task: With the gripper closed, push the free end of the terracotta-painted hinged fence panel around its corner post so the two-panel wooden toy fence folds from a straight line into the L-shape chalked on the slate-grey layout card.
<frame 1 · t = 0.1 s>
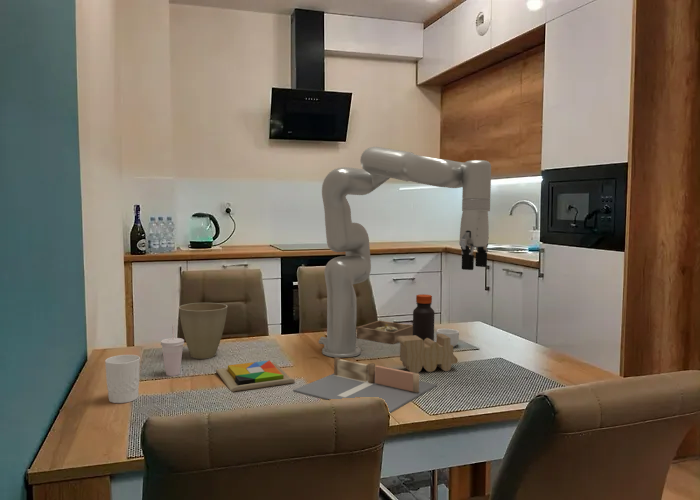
hand: (474, 268, 153), 31 cm above the table, tool pointing down, fingers open, 9 cm apart
smoothie: (172, 374, 157), on the table
teacup: (445, 346, 193), on the table
wooden puzzle: (254, 380, 154), on the table
bottle: (422, 358, 177), on the table
toy train: (426, 370, 164), on the table
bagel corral: (385, 337, 204), on the table
fixed fence panel: (354, 369, 153), on the layout card
layout card: (366, 388, 146), on the table
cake: (386, 338, 204), on the table
white cup: (123, 399, 137), on the table
hinged fence panel: (397, 378, 145), point 3 cm above the table, hinge at 0.0°
plant pot: (203, 356, 176), on the table
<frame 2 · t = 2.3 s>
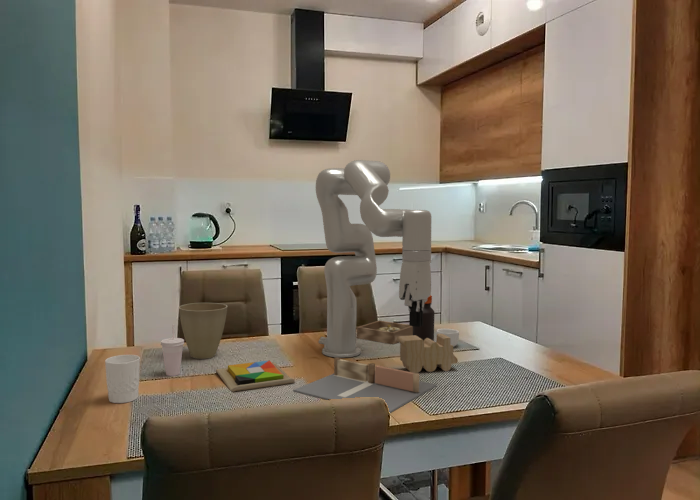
hand: (416, 325, 147), 16 cm above the table, tool pointing down, fingers closed
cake: (389, 339, 203), on the table
everything else where it was.
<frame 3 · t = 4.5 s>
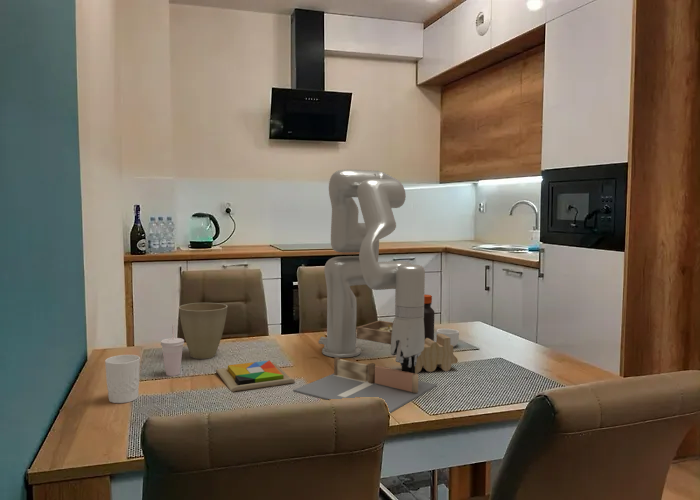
hand: (408, 380, 146), 2 cm above the table, tool pointing down, fingers closed
hinged fence panel: (396, 378, 145), point 3 cm above the table, hinge at 2.2°, touching gripper
everything else where it was.
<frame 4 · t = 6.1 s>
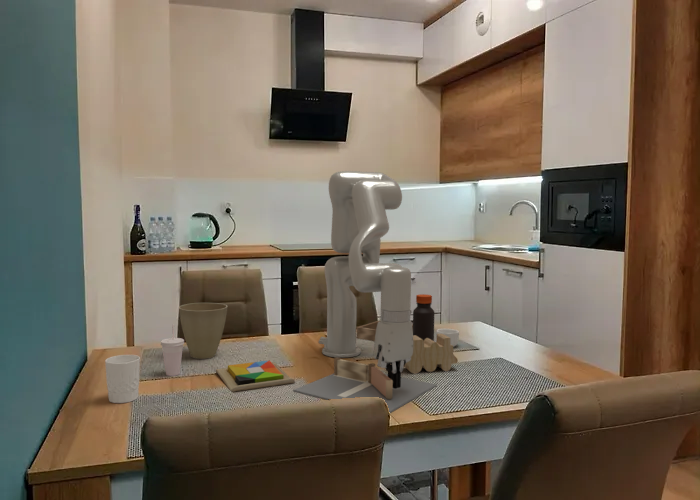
hand: (394, 386, 142), 2 cm above the table, tool pointing down, fingers closed
hinged fence panel: (381, 382, 142), point 3 cm above the table, hinge at 38.7°, touching gripper
everything else where it was.
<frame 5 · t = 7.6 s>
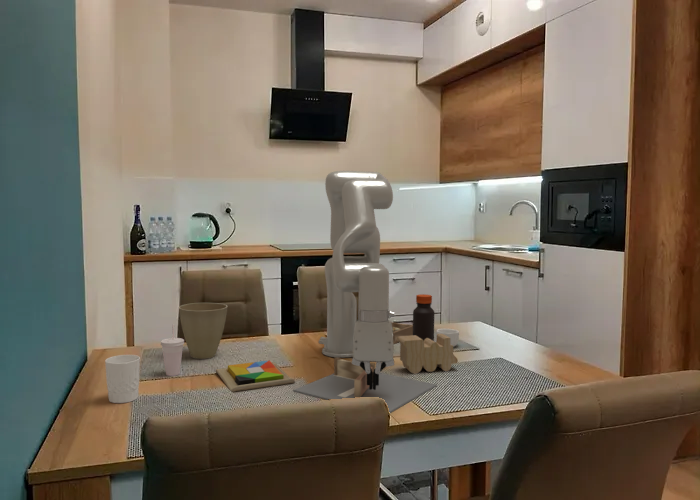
hand: (372, 387, 140), 2 cm above the table, tool pointing down, fingers closed
hinged fence panel: (363, 381, 142), point 3 cm above the table, hinge at 72.3°, touching gripper
everything else where it was.
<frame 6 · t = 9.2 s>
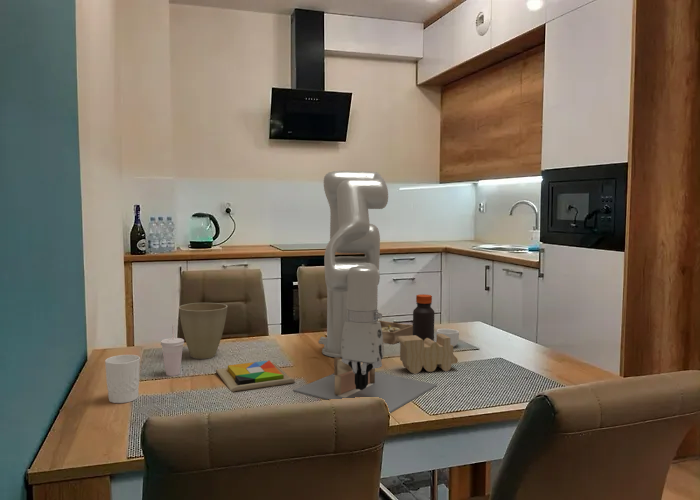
hand: (361, 388, 139), 2 cm above the table, tool pointing down, fingers closed
hinged fence panel: (352, 379, 144), point 3 cm above the table, hinge at 96.4°
everything else where it was.
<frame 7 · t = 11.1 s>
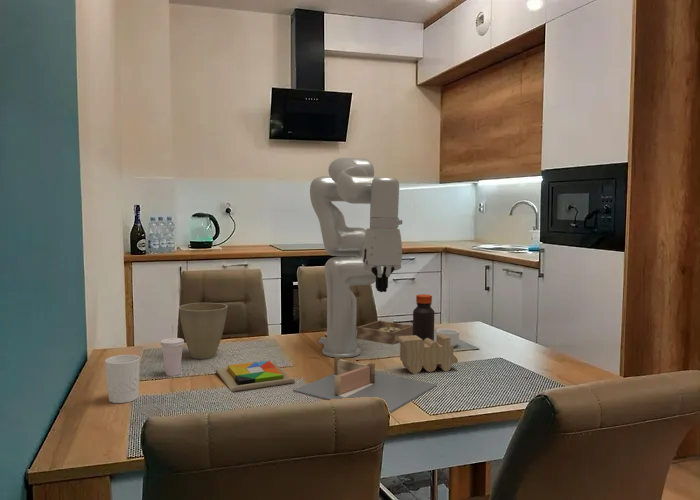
hand: (381, 291, 151), 25 cm above the table, tool pointing down, fingers closed
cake: (389, 339, 203), on the table, touching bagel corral
everything else where it was.
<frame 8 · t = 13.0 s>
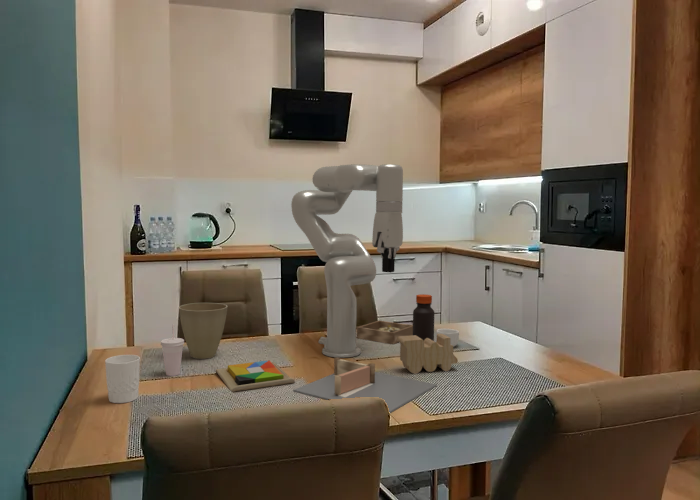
hand: (388, 271, 160), 29 cm above the table, tool pointing down, fingers closed
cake: (389, 339, 203), on the table
everything else where it was.
at the end: hinged fence panel at +96° (first picture: +0°) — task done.
